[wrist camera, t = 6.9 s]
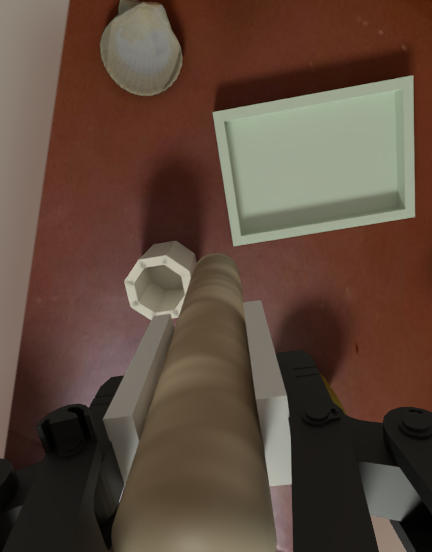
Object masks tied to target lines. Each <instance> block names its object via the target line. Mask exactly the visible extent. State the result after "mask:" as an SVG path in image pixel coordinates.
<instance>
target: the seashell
mask: <svg viewBox="0 0 432 552" xmlns="http://www.w3.org/2000/svg"><path fill="white" fill-rule="evenodd" d="M100 52H101V58H102V61H103V64H104V66H105V69H106V70H107V72H108V73H109V75H110V76H111V78H112V79H113V80H114V81H115V82H116V84H117V85H118V86H120V87H121V88H122V89H123V90H125V91H128V92H130V93H133V94H136V95H141V96H154V95H156V94H157V95H158V94H160V93H161V92H164V91H166V90H167V89H168V88H169V87H170V86H172V84H173V83H174V82H175V81H176V79H177V76H178V75H179V73H180V69H181V67H182V60H183V57H182V52H181V47H180V44H179V42H178V40H177V38H176V36H175V34H174V33H173V31H172V30H171V26H170V22H169V20H168V18H167V14H166V11H165V9H164V7H163V5H162V4H161V3H156V2H145V1H144V2H140V1H137V0H120V4H119V7H118V14H116V16H115V17H114V19H113V20H112V21H111V22H110V23H109V24H108V25H107V26H106V27H105V29H104V31H103V33H102V36H101V42H100Z"/></svg>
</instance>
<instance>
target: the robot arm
mask: <svg viewBox="0 0 432 552" xmlns="http://www.w3.org/2000/svg"><path fill="white" fill-rule="evenodd" d="M243 307H244V315H245V322H246V330H247V337H248V345H249V352H250V360H251V367H252V375H253V382H254V390H255V397H256V404H257V410H258V416H259V422H260V429H261V435H262V441H263V445H264V452H265V459H266V466H267V472H268V478H269V484H270V486H279V485H288V484H292V516H293V552H379V550H378V546H377V542H376V537H375V533H374V529H373V525H372V521H371V517H370V515H372V516H376V517H381V518H386V519H389V520H390V523H391V524H392V526H393V528H394V530H395V531H396V533H397V535H398V537H399V539H400V540H401V542H402V544H403V546H404V547H405V549H406V551H407V552H432V412H429V411H427V410H424V409H420V408H414V407H399V408H396V409H393V410H391V411H389V412H388V413H387V414H386V415H385V416H384V420H383V423H378V422H369V421H362V420H357V419H354V418H351V417H349V416H347V415H345V413H344V411H343V410H342V409H341V408H340V407H339V406H337V405H336V404H335V403H333V401H332V399H331V397H330V394H329V392H328V390H327V388H326V386H325V384H324V382H323V379H322V377H321V375H320V373H319V371H318V369H317V367H316V364H315V362H314V360H313V358H312V356H310V355H309V354H307V353H306V352H305V351H303V350H297V351H290V352H282V353H275V350H274V347H273V343H272V339H271V336H270V332H269V328H268V325H267V321H266V318H265V314H264V310H263V307H262V303H261V300H258V301H251V302H244V303H243ZM173 333H174V326H173V322H172V317H171V314H165V315H158V316H153V318H152V320H151V322H150V324H149V326H148V328H147V330H146V332H145V334H144V336H143V339H142V341H141V343H140V345H139V347H138V349H137V351H136V353H135V355H134V357H133V359H132V361H131V363H130V365H129V367H128V369H127V371H126V373H125V375H124V376H117V377H111V378H110V379H109V380H108V381H107V382H105V383H104V384H103V385H102V386H101V387H100V389H99V391H98V392H97V394H96V396H95V399H93V401H92V403H91V404H90V407H89V408H88V407H87V406H86V405H82V404H72V405H67V406H64V407H61V408H59V409H57V410H55V411H53V412H51V413H49V414H48V415H47V416H46V417H44V418H43V419H42V420H41V421H40V422H39V423H38V425H37V426H36V429H37V432H38V434H39V437H40V440H41V442H42V445H43V448H44V450H45V453H46V454H45V457H44V459H43V461H41V462H39V463H36V464H34V465H31V466H28V467H25V468H22V469H20V470H17V471H15V470H14V468H13V466H12V463H11V462H10V461H9V460H7V459H0V552H114V550H113V546H112V538H111V533H112V526H113V522H114V519H115V516H116V513H117V510H118V506H119V499H120V496H121V493H122V490H123V487H125V484H126V481H127V478H128V475H129V472H130V469H131V465H132V462H133V459H134V456H135V453H136V450H137V446H138V443H139V440H140V437H141V434H142V431H143V428H144V424H145V421H146V418H147V415H148V412H149V409H150V405H151V402H152V399H153V396H154V393H155V390H156V387H157V383H158V380H159V377H160V374H161V371H162V368H163V364H164V361H165V358H166V355H167V352H168V349H169V346H170V342H171V339H172V336H173Z"/></svg>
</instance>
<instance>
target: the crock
mask: <svg viewBox="0 0 432 552" xmlns="http://www.w3.org/2000/svg"><path fill="white" fill-rule="evenodd" d="M196 263H197V262H196V257H195V253H193V252H192V251H190V250H189V249H187V248H186V247H185V246H183V245H182V244H180V243H179V242H177V241H170V242H164V243H158V244H153V245H152V246H151V247H150V249H149V250H148V251H147V252H146V253H145V254H144V255H143V256H142V257H141V258H140V259H139V260H138V262H137V263H136V265H135V266H134V268H133V269H132V270H131V272H130V273H129V275H128V276H127V278H126V279H125V281H124V283H125V287H126V291H127V295H128V299H129V303H130V307H132V308H133V309H135V310H136V311H138V312H139V313H141V314H142V315H144V316H145V317H147V318H149V319H150V320H152V318H153V316H158V315H165V314H171V317H172V319H173V318H178V317H179V314H180V311H181V308H182V305H183V301H184V298H185V295H186V292H187V289H188V286H189V282H190V279H191V276H192V273H193V270H194V267H195V265H196Z"/></svg>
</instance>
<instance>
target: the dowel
mask: <svg viewBox="0 0 432 552" xmlns="http://www.w3.org/2000/svg"><path fill="white" fill-rule="evenodd" d="M243 303H244V302H243V295H242V288H241V281H240V274H239V269H238V267H237V265H236V263H235V262H234V261H233V260H232V259H231V258H230V257H228V256H226V255H224V254H220V253H212V254H208V255H206V256H204V257H202V258H201V259H200V260H199V261H198V262H197V263H196V265H195V267H194V270H193V273H192V276H191V279H190V282H189V286H188V289H187V292H186V295H185V298H184V301H183V305H182V308H181V311H180V314H179V317H178V320H177V323H176V327H175V330H174V333H173V336H172V339H171V342H170V346H169V349H168V352H167V355H166V358H165V361H164V364H163V368H162V371H161V374H160V377H159V380H158V383H157V387H156V390H155V393H154V396H153V399H152V402H151V405H150V409H149V412H148V415H147V418H146V421H145V424H144V428H143V431H142V434H141V437H140V440H139V443H138V446H137V450H136V453H135V456H134V459H133V462H132V465H131V469H130V472H129V475H128V478H127V481H126V484H125V487H124V491H123V494H122V497H121V500H120V503H119V506H118V510H117V513H116V516H115V519H114V522H113V526H112V533H111V538H112V546H113V550H114V552H276V545H277V540H276V530H275V523H274V516H273V509H272V502H271V495H270V487H269V480H268V473H267V466H266V459H265V452H264V445H263V441H262V435H261V429H260V422H259V416H258V410H257V404H256V397H255V390H254V382H253V375H252V367H251V360H250V352H249V345H248V337H247V330H246V322H245V315H244V307H243Z"/></svg>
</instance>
